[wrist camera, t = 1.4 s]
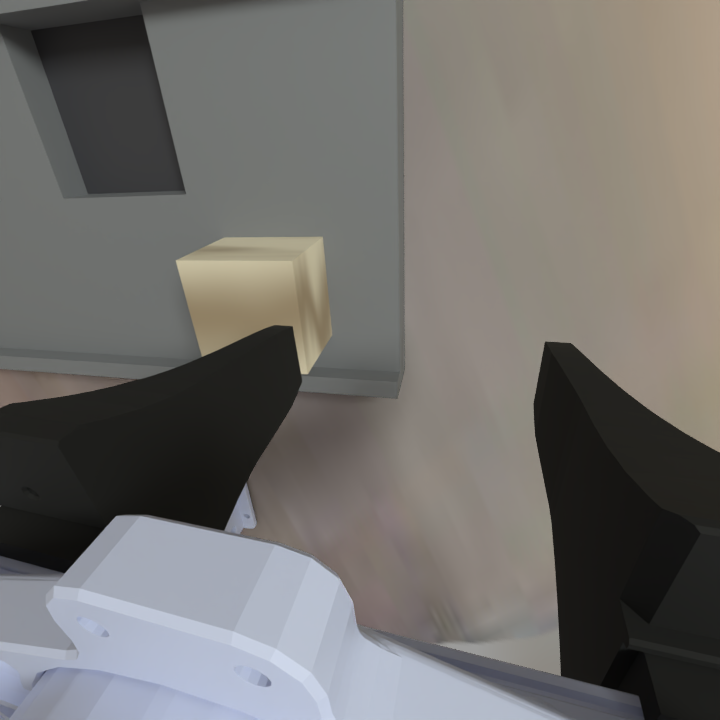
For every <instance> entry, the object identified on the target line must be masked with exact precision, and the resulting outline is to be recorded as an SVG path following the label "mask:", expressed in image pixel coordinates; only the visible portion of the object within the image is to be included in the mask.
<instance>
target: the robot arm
mask: <svg viewBox="0 0 720 720" xmlns="http://www.w3.org/2000/svg"><path fill="white" fill-rule="evenodd" d="M301 383H302V376H301V371H300V365H299V359H298V354H297V348H296V342H295V337H294V331H293V326H281V325H273V326H270V327H267V328H265V329H262V330H260V331H258V332H255V333H253V334H251V335H249V336H247V337H244V338H242V339H240V340H238V341H236V342H234V343H232V344H230V345H228V346H225V347H223V348H221V349H219V350H217V351H214V352H212V353H210V354H208V355H205V356H203V357H201V358H198V359H196V360H194V361H191V362H189V363H187V364H184V365H181V366H179V367H176V368H173V369H171V370H168V371H165V372H162V373H159V374H156V375H153V376H150V377H146V378H143V379H139V380H135V381H132V382H128V383H124V384H121V385H117V386H113V387H109V388H104V389H100V390H95V391H91V392H85V393H80V394H75V395H69V396H63V397H57V398H50V399H43V400H35V401H28V402H21V403H12V404H9V405H6V406H4V407H2V408H0V505H1V507H0V720H720V453H719V452H717V451H716V450H714V449H712V448H710V447H708V446H706V445H704V444H703V443H701V442H699V441H697V440H696V439H694V438H692V437H690V436H689V435H687V434H685V433H684V432H682V431H681V430H679V429H677V428H676V427H674V426H673V425H671V424H670V423H668V422H667V421H665V420H663V419H662V418H660V417H659V416H657V415H656V414H654V413H653V412H652V411H650V410H649V409H647V408H646V407H645V406H643V405H642V404H641V403H639V402H638V401H637V400H635V399H634V398H633V397H632V396H630V395H629V394H628V393H626V392H625V391H624V390H623V389H621V388H620V387H619V386H618V385H617V384H615V383H614V382H613V381H612V380H611V379H610V378H608V377H607V376H606V375H605V374H604V373H603V372H602V371H601V370H600V369H598V368H597V367H596V366H595V365H594V364H593V363H592V362H591V361H590V360H589V359H588V358H587V357H586V356H584V355H583V354H582V353H581V352H580V351H579V350H578V349H577V348H576V347H575V346H574V345H572V344H571V343H559V342H545V345H544V351H543V356H542V362H541V367H540V372H539V378H538V383H537V388H536V394H535V399H534V424H535V437H536V442H537V447H538V453H539V458H540V463H541V468H542V473H543V478H544V483H545V488H546V493H547V498H548V503H549V508H550V515H551V522H552V532H553V545H554V557H555V571H556V586H557V601H558V620H559V639H560V660H561V661H560V662H561V676H558V675H554V674H550V673H546V672H543V671H538V670H535V669H531V668H527V667H523V666H519V665H515V664H511V663H507V662H503V661H499V660H495V659H491V658H487V657H483V656H479V655H475V654H471V653H467V652H463V651H460V650H456V649H452V648H448V647H444V646H440V645H436V644H432V643H428V642H424V641H420V640H416V639H412V638H408V637H404V636H400V635H396V634H392V633H388V632H384V631H381V630H377V629H373V628H369V627H365V626H362V625H359V624H357V623H356V619H355V612H354V605H353V601H352V600H351V598H350V596H349V594H348V592H347V591H346V589H345V587H344V585H343V583H342V582H341V580H340V578H339V576H338V574H337V573H336V572H334V571H333V570H332V569H330V568H329V567H328V566H326V565H325V564H324V563H322V562H321V561H320V560H318V559H317V558H316V557H314V556H313V555H312V554H309V553H306V552H304V551H301V550H298V549H296V548H293V547H290V546H287V545H285V544H282V543H279V542H274V541H270V540H265V539H260V538H255V537H251V536H246V535H241V534H240V533H241V531H242V529H243V528H250V529H252V528H254V527H255V526H256V524H257V521H256V518H255V514H254V510H253V506H252V502H251V498H250V494H249V490H248V487H247V483H246V482H247V480H248V478H249V476H250V474H251V472H252V470H253V468H254V467H255V465H256V463H257V461H258V460H259V458H260V457H261V455H262V453H263V452H264V450H265V449H266V447H267V445H268V444H269V442H270V441H271V439H272V438H273V436H274V434H275V433H276V431H277V430H278V428H279V426H280V425H281V423H282V422H283V420H284V418H285V417H286V415H287V413H288V412H289V410H290V408H291V407H292V405H293V402H294V400H295V398H296V396H297V393H298V391H299V388H300V386H301Z"/></svg>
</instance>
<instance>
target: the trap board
mask: <svg viewBox="0 0 720 720" xmlns="http://www.w3.org/2000/svg"><path fill="white" fill-rule="evenodd" d="M225 237H323V244H324V254H325V265H326V275H327V285H328V296H329V306H330V316H331V326H332V336H331V338H330V339H329V341H328V343H327V344H326V346H325V347H324V349H323V351H322V352H321V354H320V355H319V357H318V359H317V360H316V362H315V363H314V365H313V367H312V368H311V370H310V371H309V373H308V374H301V376H302V383H301V386H300V388H299V391H302V392H316V393H329V394H342V395H355V396H369V397H382V398H395V399H398V395H399V391H400V386H401V382H402V378H403V374H404V370H405V354H404V104H403V0H0V369H10V370H23V371H37V372H50V373H63V374H76V375H90V376H103V377H116V378H130V379H143V378H146V377H150V376H153V375H156V374H159V373H162V372H165V371H168V370H171V369H173V368H176V367H179V366H181V365H184V364H187V363H189V362H191V361H194V360H196V359H198V358H201V357H202V355H201V351H200V348H199V344H198V340H197V337H196V333H195V329H194V326H193V322H192V318H191V315H190V311H189V308H188V304H187V300H186V297H185V293H184V289H183V286H182V282H181V278H180V275H179V271H178V267H177V264H176V260H178V259H180V258H182V257H184V256H186V255H188V254H190V253H192V252H195V251H197V250H199V249H201V248H203V247H205V246H207V245H209V244H212V243H214V242H216V241H218V240H220V239H222V238H225Z"/></svg>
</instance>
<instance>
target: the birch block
mask: <svg viewBox="0 0 720 720" xmlns="http://www.w3.org/2000/svg"><path fill="white" fill-rule="evenodd" d="M176 264H177V267H178V271H179V275H180V278H181V282H182V286H183V289H184V293H185V297H186V300H187V304H188V308H189V311H190V315H191V318H192V322H193V326H194V329H195V333H196V337H197V340H198V344H199V348H200V351H201V355H202V357H203V356H205V355H208V354H210V353H212V352H214V351H217V350H219V349H221V348H223V347H225V346H228V345H230V344H232V343H234V342H236V341H238V340H240V339H242V338H244V337H247V336H249V335H251V334H253V333H255V332H258V331H260V330H262V329H265V328H267V327H270V326H273V325H281V326H293V331H294V337H295V342H296V348H297V354H298V359H299V365H300V371H301V374H308V373H309V371H310V370H311V368H312V367H313V365H314V363H315V362H316V360H317V359H318V357H319V355H320V354H321V352H322V351H323V349H324V347H325V346H326V344H327V343H328V341H329V339H330V338H331V336H332V326H331V316H330V306H329V296H328V285H327V275H326V265H325V254H324V244H323V237H225V238H222V239H220V240H218V241H216V242H214V243H212V244H209V245H207V246H205V247H203V248H201V249H199V250H197V251H195V252H192V253H190V254H188V255H186V256H184V257H182V258H180V259H178V260H176Z"/></svg>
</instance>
